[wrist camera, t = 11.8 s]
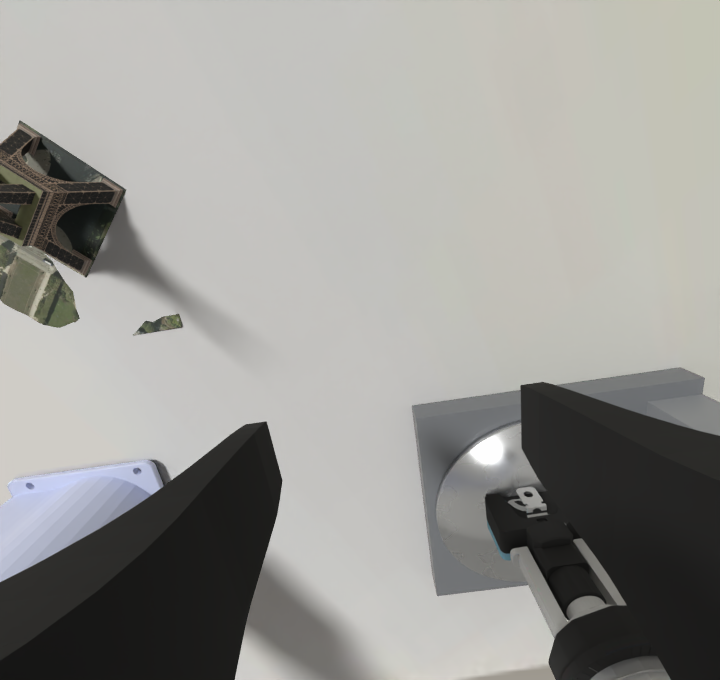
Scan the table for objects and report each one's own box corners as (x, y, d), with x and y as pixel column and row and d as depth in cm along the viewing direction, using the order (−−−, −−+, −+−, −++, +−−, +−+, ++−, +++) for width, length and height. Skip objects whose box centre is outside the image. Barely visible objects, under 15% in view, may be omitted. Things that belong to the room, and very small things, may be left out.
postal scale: (432, 575, 25) (457, 686, 19) (411, 405, 21) (434, 478, 15) (663, 546, 25) (765, 652, 19) (689, 366, 21) (832, 425, 14)
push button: (590, 458, 20) (801, 664, 11) (589, 529, 22) (771, 764, 12) (475, 476, 20) (579, 693, 11) (482, 545, 22) (578, 787, 12)
